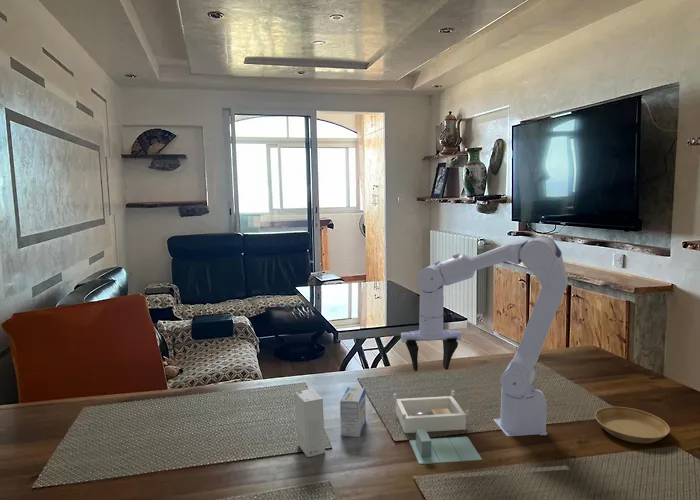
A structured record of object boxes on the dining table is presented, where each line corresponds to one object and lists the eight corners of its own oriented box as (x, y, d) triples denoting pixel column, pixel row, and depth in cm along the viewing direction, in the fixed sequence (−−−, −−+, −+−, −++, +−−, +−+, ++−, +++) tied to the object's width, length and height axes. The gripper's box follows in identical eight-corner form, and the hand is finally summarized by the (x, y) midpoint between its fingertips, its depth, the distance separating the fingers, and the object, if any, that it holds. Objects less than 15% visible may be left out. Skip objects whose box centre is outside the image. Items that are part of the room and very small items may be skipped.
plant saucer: (592, 439, 110) (593, 427, 110) (595, 411, 123) (595, 401, 123) (672, 456, 103) (673, 444, 103) (666, 424, 116) (666, 414, 116)
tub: (453, 410, 124) (453, 390, 123) (468, 432, 113) (469, 410, 112) (393, 413, 122) (393, 393, 121) (402, 436, 111) (403, 414, 110)
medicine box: (360, 439, 110) (359, 402, 109) (340, 437, 111) (339, 400, 110) (366, 422, 118) (365, 387, 117) (347, 420, 119) (347, 386, 118)
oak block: (447, 418, 118) (447, 408, 118) (451, 424, 115) (451, 414, 115) (430, 419, 118) (431, 409, 117) (434, 425, 115) (434, 415, 115)
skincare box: (326, 453, 105) (325, 398, 103) (305, 458, 103) (304, 402, 101) (315, 439, 110) (314, 387, 109) (295, 444, 108) (294, 391, 107)
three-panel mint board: (467, 440, 110) (467, 421, 109) (482, 463, 101) (482, 443, 100) (409, 444, 109) (409, 424, 108) (419, 468, 100) (419, 447, 99)
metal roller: (429, 409, 117) (432, 417, 115) (428, 417, 118) (431, 425, 116) (412, 410, 116) (415, 418, 114) (411, 418, 118) (414, 426, 115)
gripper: (455, 309, 126) (454, 361, 128) (398, 311, 124) (398, 364, 126) (464, 317, 119) (463, 372, 121) (404, 319, 117) (404, 375, 119)
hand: (430, 368), depth 123 cm, fingers open, 7 cm apart
